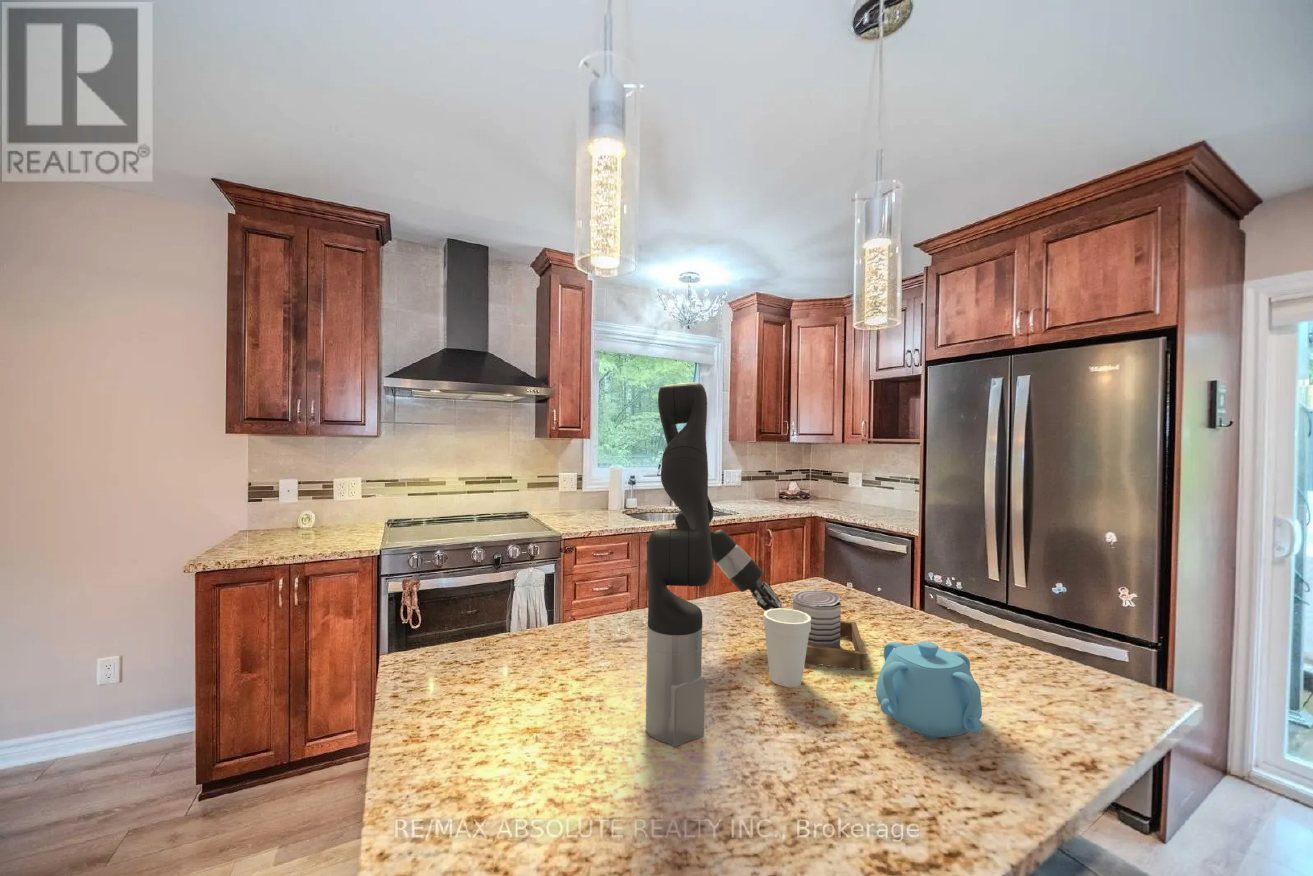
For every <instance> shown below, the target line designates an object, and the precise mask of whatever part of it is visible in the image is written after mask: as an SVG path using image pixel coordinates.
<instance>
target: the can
mask: <svg viewBox="0 0 1313 876" xmlns="http://www.w3.org/2000/svg"><path fill="white" fill-rule="evenodd" d="M790 597H791V598H792V601H793V603H792V609H793V610H798V611H801V612H804V613H806V614H808V615H809V616H810V617H811V631H810V633H809V638H808V644H807V645H811V646H819V647H827V648H836V649H841V636H840V621H841V610H842V606H841V605H842V603H841V601H843V600H844V599H843V598H842V597H841V596H840V595H839V594H838V593H837V592H832V591H827V590H822V589H809V590H808V589H807V590H799V591H797V592H796V593H793V594H792V595H790Z"/></svg>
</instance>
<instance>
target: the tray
mask: <svg viewBox="0 0 1313 876" xmlns="http://www.w3.org/2000/svg"><path fill="white" fill-rule="evenodd" d="M840 635H842V636H841V637H845V636H851V637H852V638H851V637H850V638H851V641H853V642H852V646H853V649H855V650H852V649H851V650H850V649H843V648H842V649H841V648H840V649H836V648H827V647H819V646H811V645H807V651H806V658H805V664H811V665H818V664H823V665H822V666H826V665H830V666H829V667H833V666H836V667H835V668H841V667H842V669H843V668H844V669H849V668H854V669H853V670H856V669H861V670H860V671H864V670H866V668H867V653H866V650H865V647H864V643H863V641H862V637H861V633H860V631H859V627H858V623H857V622H856V621H847V620H840Z"/></svg>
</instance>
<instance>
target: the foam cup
mask: <svg viewBox="0 0 1313 876" xmlns="http://www.w3.org/2000/svg"><path fill="white" fill-rule="evenodd" d="M762 616H763V618H762V619H763V621H762V623H763V625H762V626H763V628H764V635H765V645H766V654H767V664H768V671H769V679H770V680H771V682H772V683H774V684H776V685H778V686H782V687H786V688H787V687H788V688H794V687H799V686H800V685H801V683H802V682H803V676H804V669H805V664H806V663H805V658H806V651H807V644H808V638H809V633H810V631H811V617H810V616H809V615H808V614H806V613H804V612H801V611H798V610H793V608H784V607H782V608H776V609H769V610H767V611H765V610H764V612H763V615H762Z"/></svg>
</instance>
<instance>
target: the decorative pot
mask: <svg viewBox="0 0 1313 876" xmlns="http://www.w3.org/2000/svg"><path fill="white" fill-rule="evenodd" d="M883 657H884V663H883V665H882V667H881V669H880V671H879V674H878V678H877V681H876V686H875V697H876V699H877V701H878V703H879V705H880V706H879V707H880V710H881V711H882V713H883V714H884V715H886V716H889V717H891V718H893V720H895V721H896V722H898V723H900V724H901V725H902V726H904V727H906V728H909V730H912V731H914V732H916V733H919V734H920V735H921V736H922V737H924V738H926V739H929V740H937V739H938V738H939V737H940V738H942V737H943V738H944V737H955V736H961V735H964V734H967V733H968V732H969V733H971V734H979V733H980V732H982V730H983V724H982V721H981V718H982V715H983V706H982V699H981V697H982V696H981V695H982V694H981V689H980V686H979V685H978V683H977V681H976V680H975V678H974V676H973V674H972V672H971V662H970V660H969V657H968V656H966V654H964V653H962V652H960V651H957V650H952V651H948V650H945V649H943V648H941V647H939V646H938V645H937V644H935V643H934V642H930V641H925V640H922V641H918V642H917V644H916V643H915V644H914V643H913V644H902V643H900V642H899V641H893V642H892V641H890V642H888V643H886V644H885V646H884V647H883Z"/></svg>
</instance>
